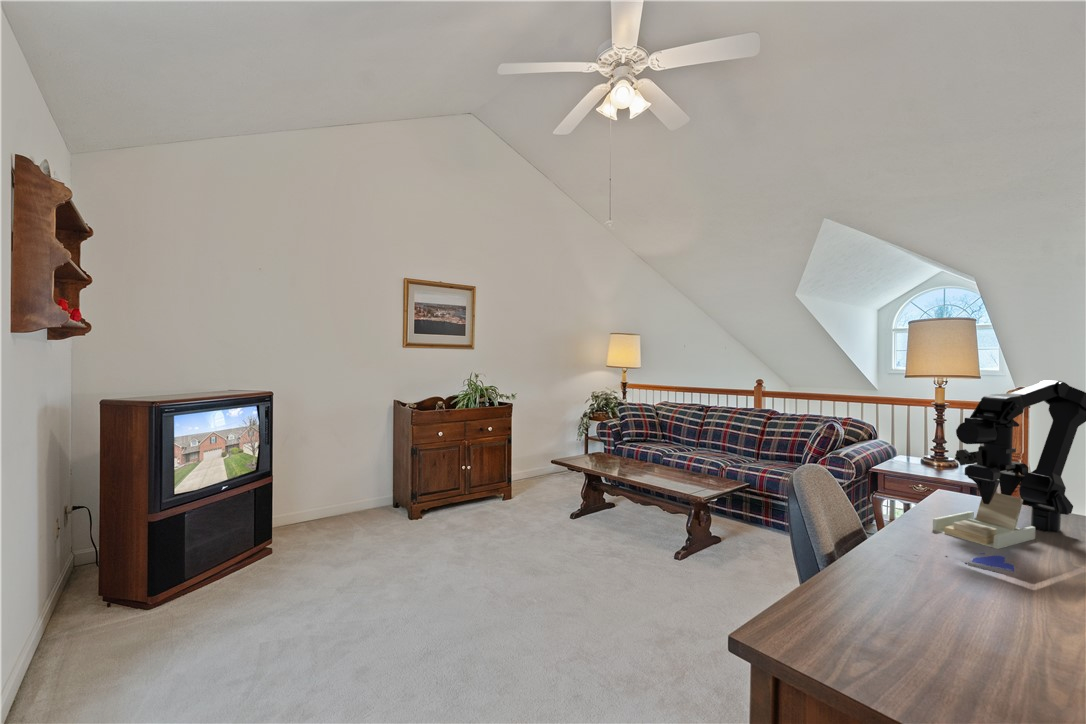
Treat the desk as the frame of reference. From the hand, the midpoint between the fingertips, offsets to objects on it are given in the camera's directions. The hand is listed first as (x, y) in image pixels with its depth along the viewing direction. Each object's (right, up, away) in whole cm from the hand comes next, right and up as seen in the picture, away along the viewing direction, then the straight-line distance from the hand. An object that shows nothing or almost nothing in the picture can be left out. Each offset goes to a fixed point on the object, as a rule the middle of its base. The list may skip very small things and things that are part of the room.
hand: (995, 502), depth 134 cm
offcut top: (-10, -6, -5) cm, 12 cm away
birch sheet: (-1, -8, 0) cm, 8 cm away
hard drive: (-17, -10, -19) cm, 27 cm away
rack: (-5, -9, -2) cm, 10 cm away
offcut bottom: (-10, -8, -5) cm, 14 cm away
